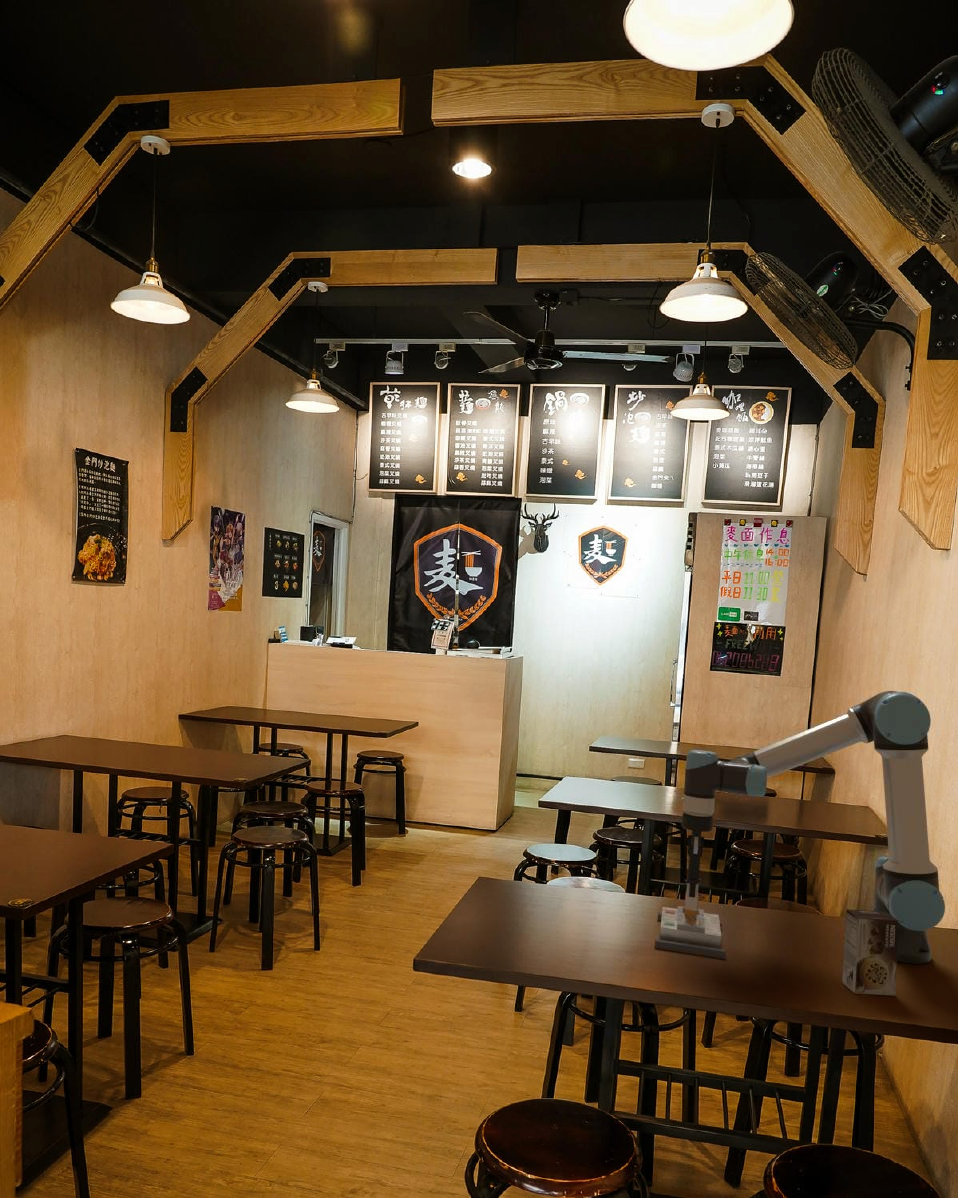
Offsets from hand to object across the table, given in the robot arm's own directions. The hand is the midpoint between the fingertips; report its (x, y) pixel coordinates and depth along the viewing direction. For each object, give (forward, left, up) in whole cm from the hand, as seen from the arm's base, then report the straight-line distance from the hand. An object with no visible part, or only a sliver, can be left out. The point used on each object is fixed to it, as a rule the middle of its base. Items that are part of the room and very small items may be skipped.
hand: (690, 909), depth 221 cm
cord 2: (0, +13, -7) cm, 14 cm away
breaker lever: (0, -3, -2) cm, 4 cm away
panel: (0, +1, -7) cm, 7 cm away
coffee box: (-38, +19, -7) cm, 43 cm away
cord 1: (0, -10, -7) cm, 12 cm away
